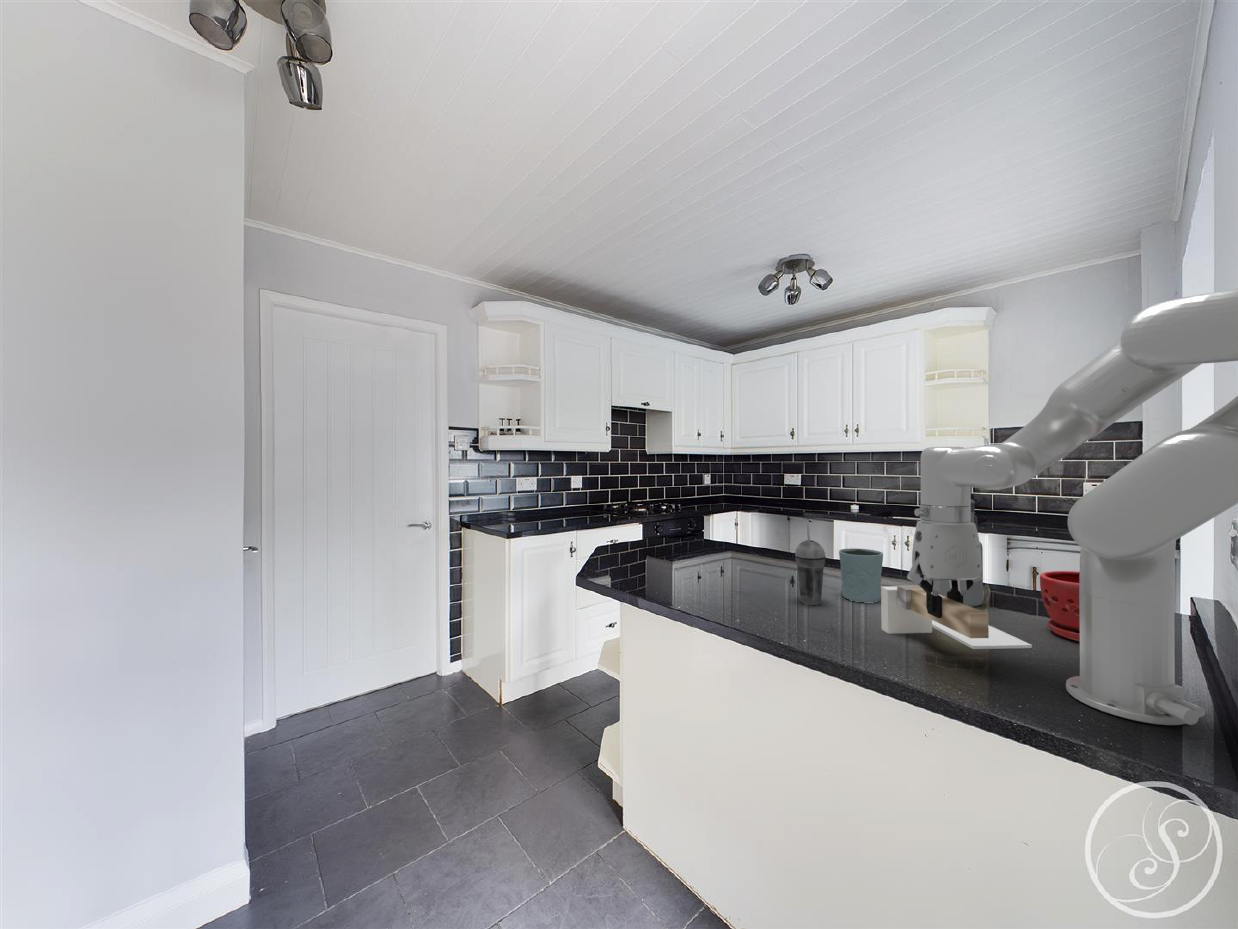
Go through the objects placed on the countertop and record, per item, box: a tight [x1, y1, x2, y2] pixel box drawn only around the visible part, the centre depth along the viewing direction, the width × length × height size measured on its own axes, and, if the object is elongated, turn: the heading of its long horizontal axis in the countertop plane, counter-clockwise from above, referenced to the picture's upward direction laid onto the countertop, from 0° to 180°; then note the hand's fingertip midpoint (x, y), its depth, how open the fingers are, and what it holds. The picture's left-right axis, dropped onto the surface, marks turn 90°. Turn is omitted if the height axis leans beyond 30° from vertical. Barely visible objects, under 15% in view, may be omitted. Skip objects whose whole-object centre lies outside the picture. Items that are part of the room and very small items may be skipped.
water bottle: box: [939, 498, 984, 608], centre depth 119 cm, size 10×10×28 cm
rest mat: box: [932, 620, 1033, 650], centre depth 102 cm, size 24×11×1 cm, turn 0°
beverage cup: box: [794, 522, 827, 606], centre depth 120 cm, size 7×7×20 cm
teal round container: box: [838, 547, 884, 602], centre depth 123 cm, size 10×10×12 cm
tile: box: [880, 585, 933, 635], centre depth 100 cm, size 3×9×9 cm, turn 90°
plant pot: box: [1039, 570, 1080, 643], centre depth 95 cm, size 13×13×12 cm
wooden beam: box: [896, 585, 989, 638], centre depth 89 cm, size 19×5×4 cm, turn 0°
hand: (944, 614), depth 88 cm, fingers closed on wooden beam, 3 cm apart
